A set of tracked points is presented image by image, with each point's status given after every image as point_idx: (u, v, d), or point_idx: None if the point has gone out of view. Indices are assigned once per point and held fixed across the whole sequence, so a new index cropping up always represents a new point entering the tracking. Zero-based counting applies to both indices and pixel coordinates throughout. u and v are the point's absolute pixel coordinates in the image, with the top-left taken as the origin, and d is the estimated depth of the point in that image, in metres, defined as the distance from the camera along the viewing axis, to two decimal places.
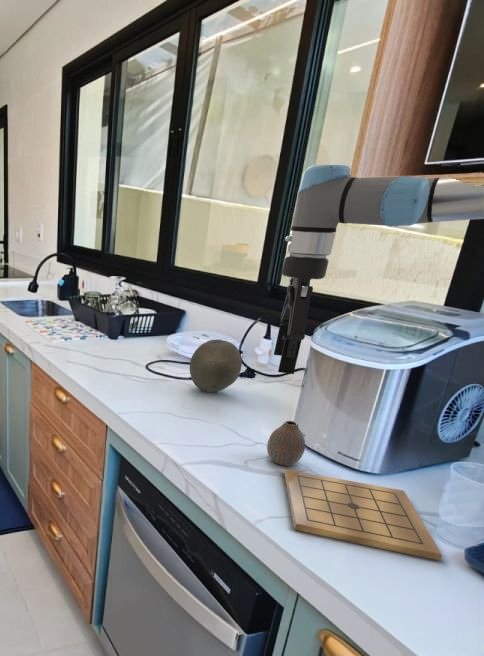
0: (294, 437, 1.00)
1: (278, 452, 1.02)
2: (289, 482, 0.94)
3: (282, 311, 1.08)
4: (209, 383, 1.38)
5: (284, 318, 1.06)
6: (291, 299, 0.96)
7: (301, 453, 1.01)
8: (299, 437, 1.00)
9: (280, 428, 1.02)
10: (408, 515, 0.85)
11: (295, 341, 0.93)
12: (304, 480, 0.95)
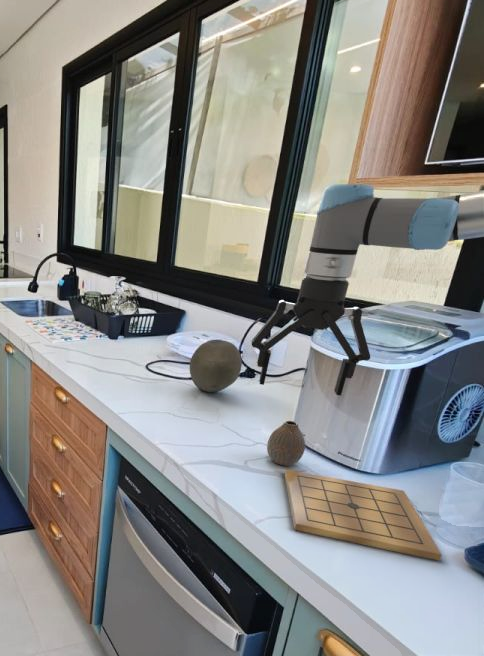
0: (294, 437, 1.00)
1: (278, 452, 1.02)
2: (289, 482, 0.94)
3: (257, 338, 0.98)
4: (209, 383, 1.38)
5: (273, 345, 0.97)
6: None
7: (301, 453, 1.01)
8: (299, 437, 1.00)
9: (280, 428, 1.02)
10: (408, 515, 0.85)
11: None
12: (304, 480, 0.95)
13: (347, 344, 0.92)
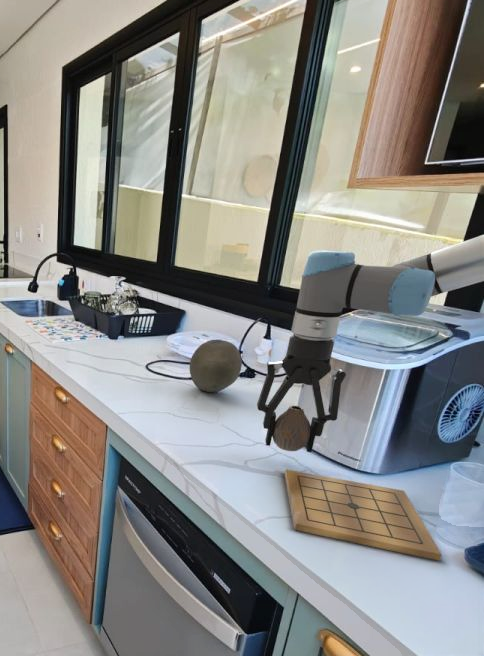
0: (300, 422, 0.99)
1: (284, 437, 1.00)
2: (289, 482, 0.94)
3: (261, 402, 1.01)
4: (209, 383, 1.38)
5: None
6: None
7: (307, 438, 1.00)
8: (304, 421, 0.99)
9: (285, 413, 1.01)
10: (408, 515, 0.85)
11: None
12: (304, 480, 0.95)
13: (321, 404, 0.97)
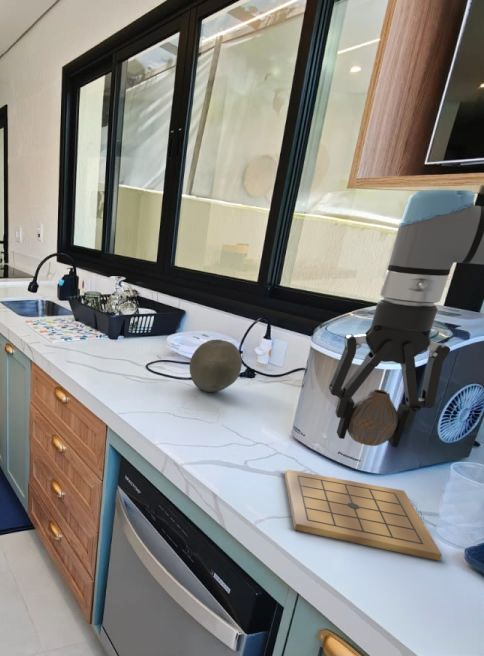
0: (386, 410, 0.80)
1: (364, 429, 0.81)
2: (289, 482, 0.94)
3: (336, 385, 0.82)
4: (209, 383, 1.38)
5: None
6: None
7: (393, 429, 0.80)
8: (391, 409, 0.80)
9: (366, 398, 0.82)
10: (408, 515, 0.85)
11: None
12: (304, 480, 0.95)
13: (415, 387, 0.78)
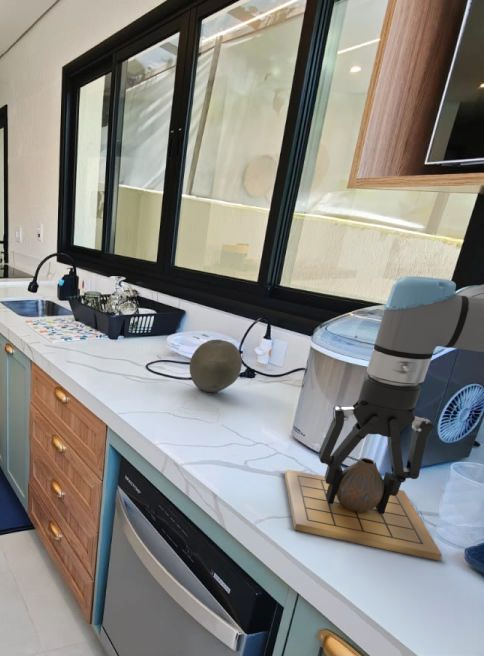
0: (372, 479, 0.83)
1: (352, 497, 0.84)
2: (289, 482, 0.94)
3: (324, 454, 0.85)
4: (209, 383, 1.38)
5: None
6: None
7: (380, 498, 0.83)
8: (378, 478, 0.83)
9: (353, 467, 0.85)
10: (408, 515, 0.85)
11: None
12: (304, 480, 0.95)
13: (400, 459, 0.81)
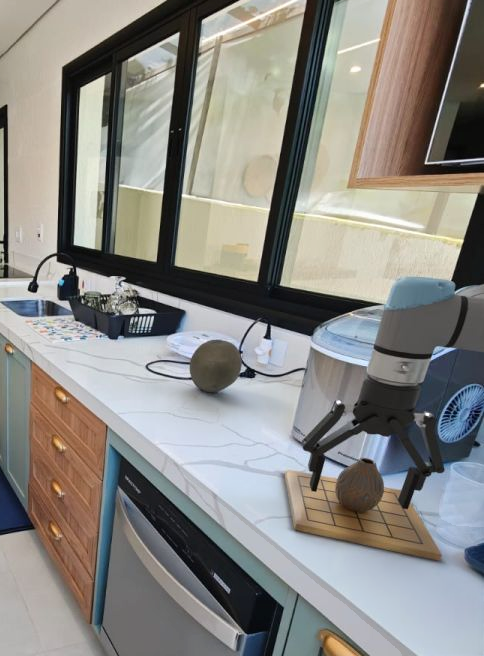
0: (372, 479, 0.83)
1: (352, 497, 0.84)
2: (289, 482, 0.94)
3: (310, 442, 0.85)
4: (209, 383, 1.38)
5: None
6: (404, 431, 0.79)
7: (380, 498, 0.83)
8: (378, 478, 0.83)
9: (353, 467, 0.85)
10: (408, 515, 0.85)
11: None
12: (304, 480, 0.95)
13: (417, 454, 0.80)
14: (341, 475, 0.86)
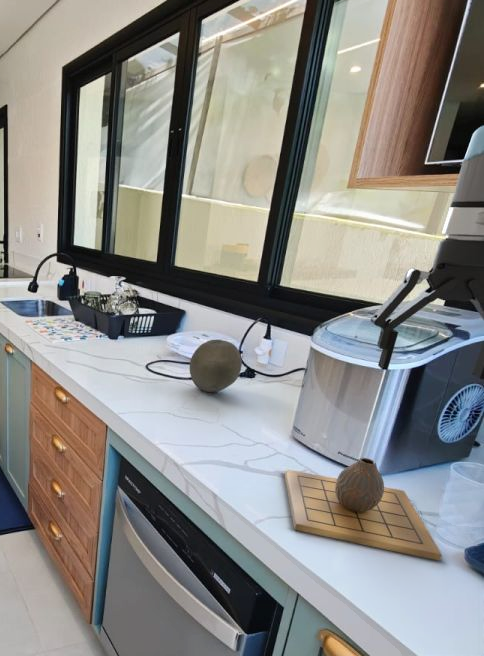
0: (372, 479, 0.83)
1: (352, 497, 0.84)
2: (289, 482, 0.94)
3: (382, 315, 0.83)
4: (209, 383, 1.38)
5: None
6: None
7: (380, 498, 0.83)
8: (378, 478, 0.83)
9: (353, 467, 0.85)
10: (408, 515, 0.85)
11: None
12: (304, 480, 0.95)
13: None
14: (341, 475, 0.86)
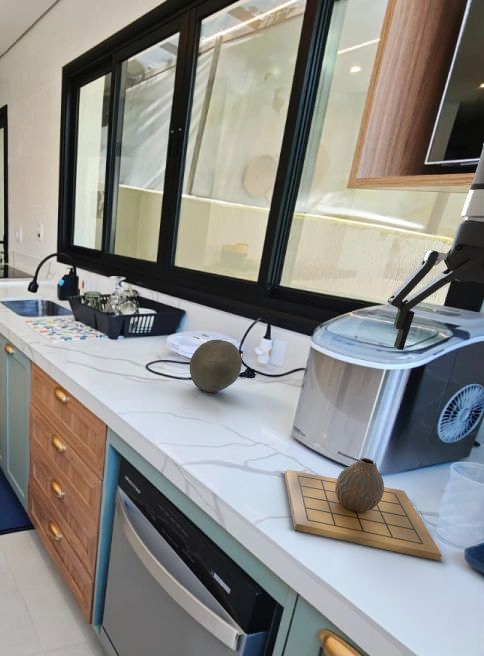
0: (372, 479, 0.83)
1: (352, 497, 0.84)
2: (289, 482, 0.94)
3: (399, 296, 0.85)
4: (209, 383, 1.38)
5: None
6: None
7: (380, 498, 0.83)
8: (378, 478, 0.83)
9: (353, 467, 0.85)
10: (408, 515, 0.85)
11: None
12: (304, 480, 0.95)
13: None
14: (341, 475, 0.86)
